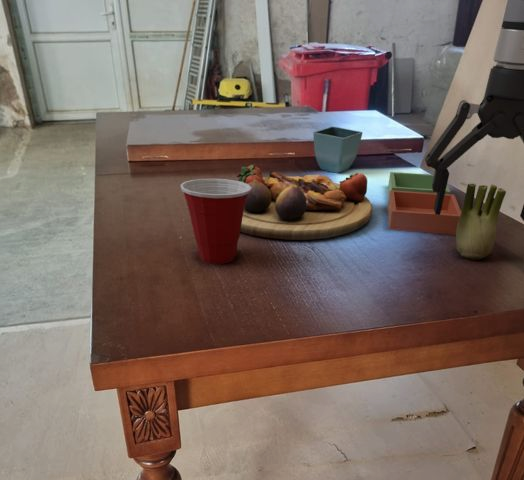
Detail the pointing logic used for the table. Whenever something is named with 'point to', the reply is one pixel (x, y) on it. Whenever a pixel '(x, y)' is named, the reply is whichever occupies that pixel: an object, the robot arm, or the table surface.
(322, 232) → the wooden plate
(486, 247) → the fennel bulb
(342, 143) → the flower pot
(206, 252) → the plastic cup
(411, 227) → the terracotta bin
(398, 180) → the green bin
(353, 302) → the table surface
